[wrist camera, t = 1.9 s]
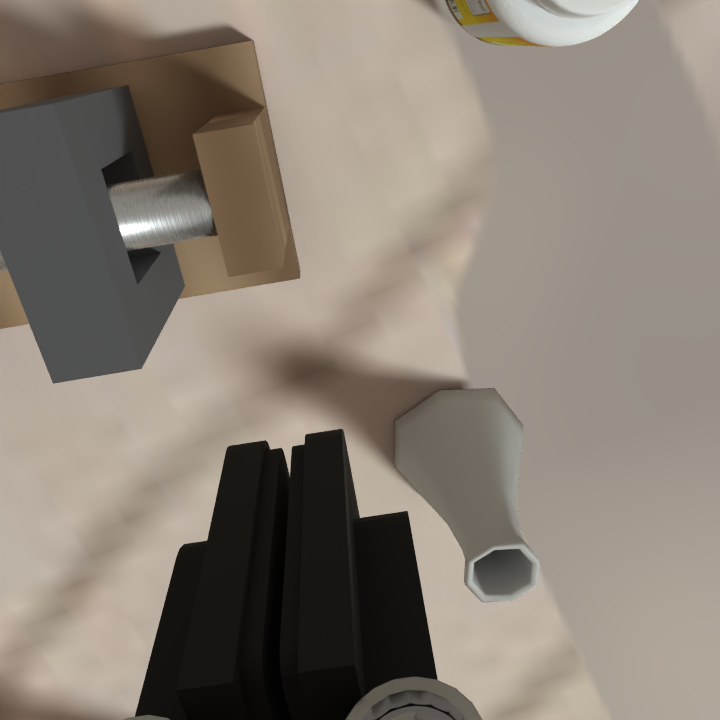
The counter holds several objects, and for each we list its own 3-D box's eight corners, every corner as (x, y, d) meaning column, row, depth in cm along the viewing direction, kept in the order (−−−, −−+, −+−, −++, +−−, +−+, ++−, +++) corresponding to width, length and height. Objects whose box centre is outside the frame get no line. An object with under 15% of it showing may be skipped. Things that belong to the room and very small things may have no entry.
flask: (413, 513, 39) (442, 657, 30) (372, 409, 36) (391, 535, 27) (536, 474, 38) (604, 610, 29) (505, 365, 35) (571, 479, 26)
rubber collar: (128, 84, 27) (53, 103, 19) (185, 285, 30) (141, 368, 23) (53, 97, 27) (-52, 121, 19) (118, 296, 30) (53, 383, 23)
